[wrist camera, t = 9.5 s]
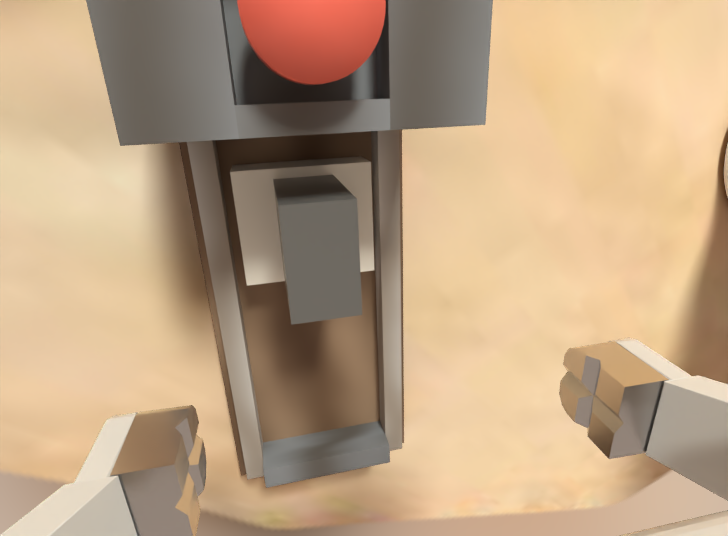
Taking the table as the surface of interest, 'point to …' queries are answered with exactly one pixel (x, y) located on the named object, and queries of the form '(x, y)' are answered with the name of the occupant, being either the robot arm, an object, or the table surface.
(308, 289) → the carriage
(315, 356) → the track
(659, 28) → the table surface
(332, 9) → the button
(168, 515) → the robot arm
